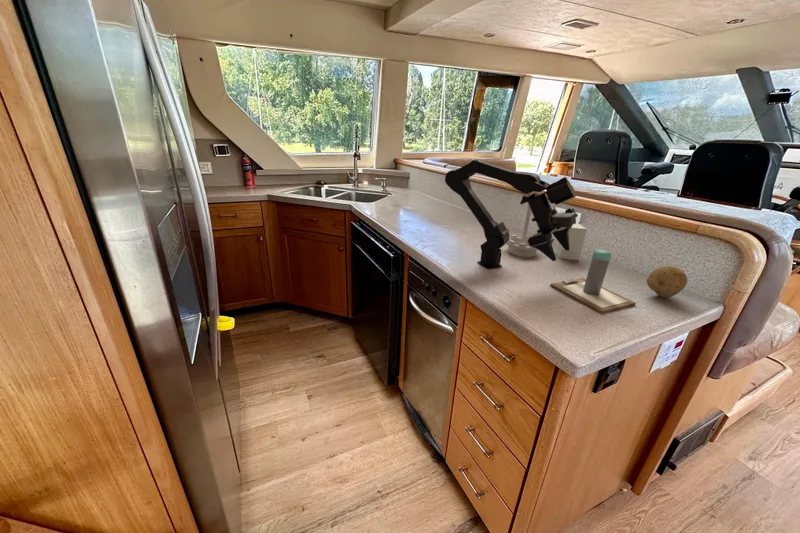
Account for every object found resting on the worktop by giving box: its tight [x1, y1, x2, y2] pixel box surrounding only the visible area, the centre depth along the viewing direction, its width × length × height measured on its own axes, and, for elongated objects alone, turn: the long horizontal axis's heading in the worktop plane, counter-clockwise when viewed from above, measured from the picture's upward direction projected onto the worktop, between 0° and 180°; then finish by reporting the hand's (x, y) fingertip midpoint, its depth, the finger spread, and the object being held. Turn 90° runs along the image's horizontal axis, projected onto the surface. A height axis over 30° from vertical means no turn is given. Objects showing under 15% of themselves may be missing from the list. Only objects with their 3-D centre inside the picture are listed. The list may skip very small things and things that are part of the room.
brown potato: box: [646, 265, 688, 299], centre depth 97 cm, size 9×9×10 cm
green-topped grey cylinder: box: [583, 248, 613, 295], centre depth 96 cm, size 4×4×13 cm
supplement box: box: [554, 223, 588, 261], centre depth 128 cm, size 7×7×13 cm
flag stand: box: [505, 191, 539, 258], centre depth 128 cm, size 13×13×30 cm
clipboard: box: [549, 277, 636, 314], centre depth 99 cm, size 14×18×1 cm
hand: (561, 255), depth 104 cm, fingers open, 9 cm apart
